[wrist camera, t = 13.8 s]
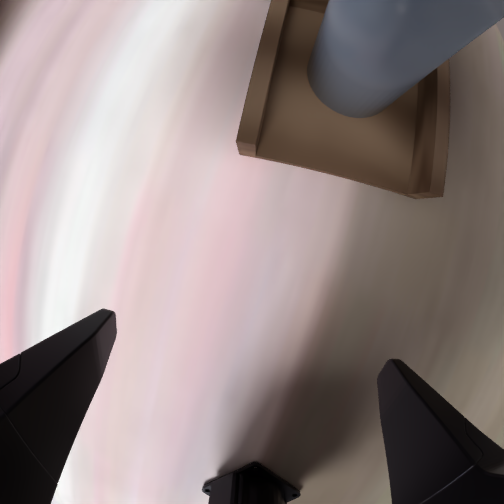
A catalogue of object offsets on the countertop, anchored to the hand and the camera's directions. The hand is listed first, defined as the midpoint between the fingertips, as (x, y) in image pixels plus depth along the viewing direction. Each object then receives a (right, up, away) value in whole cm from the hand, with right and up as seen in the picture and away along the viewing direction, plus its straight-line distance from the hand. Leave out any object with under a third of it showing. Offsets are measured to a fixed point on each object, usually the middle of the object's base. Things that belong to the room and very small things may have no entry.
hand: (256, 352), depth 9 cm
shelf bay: (+6, +15, +9) cm, 18 cm away
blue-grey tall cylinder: (+6, +14, +8) cm, 18 cm away
